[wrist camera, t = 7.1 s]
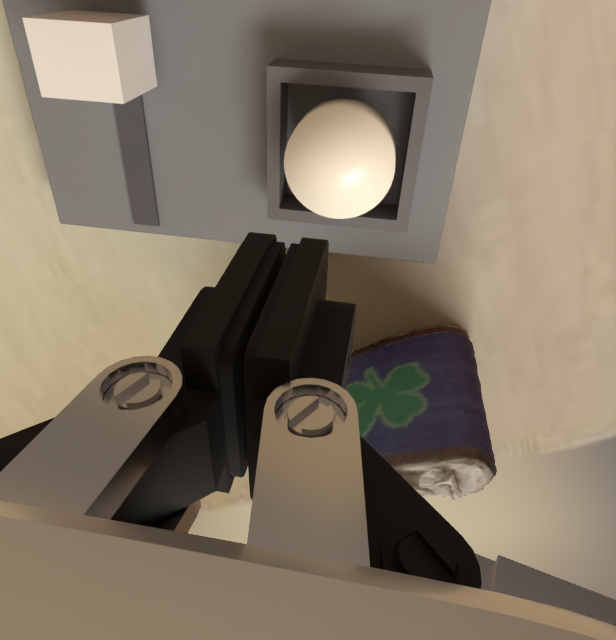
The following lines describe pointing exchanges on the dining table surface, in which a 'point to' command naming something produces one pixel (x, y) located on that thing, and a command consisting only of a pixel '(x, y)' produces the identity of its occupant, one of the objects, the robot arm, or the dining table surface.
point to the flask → (425, 409)
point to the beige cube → (92, 55)
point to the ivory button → (340, 158)
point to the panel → (262, 117)
